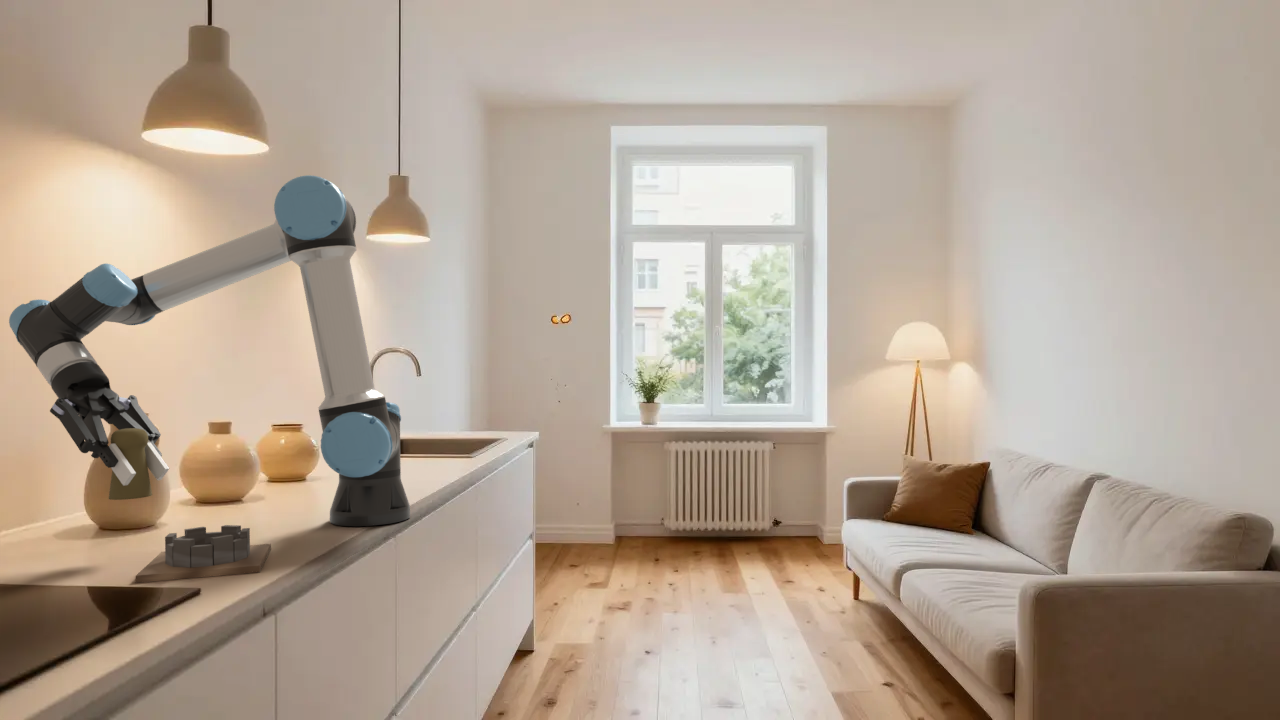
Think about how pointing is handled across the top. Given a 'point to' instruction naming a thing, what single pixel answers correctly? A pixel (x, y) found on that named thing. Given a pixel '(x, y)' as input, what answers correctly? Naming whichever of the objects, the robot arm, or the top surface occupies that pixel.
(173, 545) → the collar
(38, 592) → the top surface
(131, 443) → the cork
